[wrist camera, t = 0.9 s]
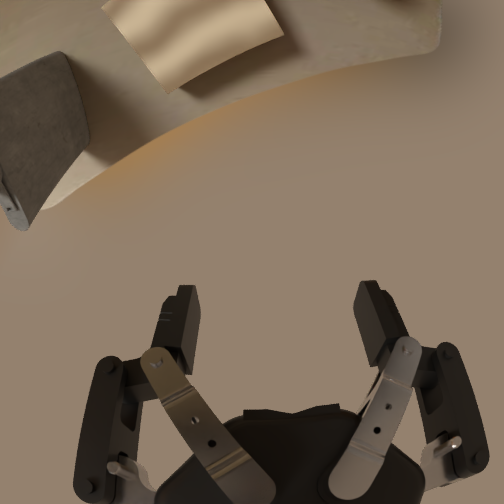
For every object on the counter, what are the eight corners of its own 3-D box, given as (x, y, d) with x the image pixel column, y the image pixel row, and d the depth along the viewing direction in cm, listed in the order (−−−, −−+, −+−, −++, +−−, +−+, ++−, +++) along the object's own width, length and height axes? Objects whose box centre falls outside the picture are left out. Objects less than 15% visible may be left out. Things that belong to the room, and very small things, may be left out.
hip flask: (45, 56, 22) (-63, 124, 8) (68, 45, 22) (-46, 105, 8) (76, 149, 34) (6, 250, 20) (97, 143, 34) (28, 246, 20)
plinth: (115, 6, 19) (101, 7, 17) (221, -56, 15) (218, -64, 12) (174, 85, 29) (167, 94, 26) (279, 32, 24) (284, 34, 22)
